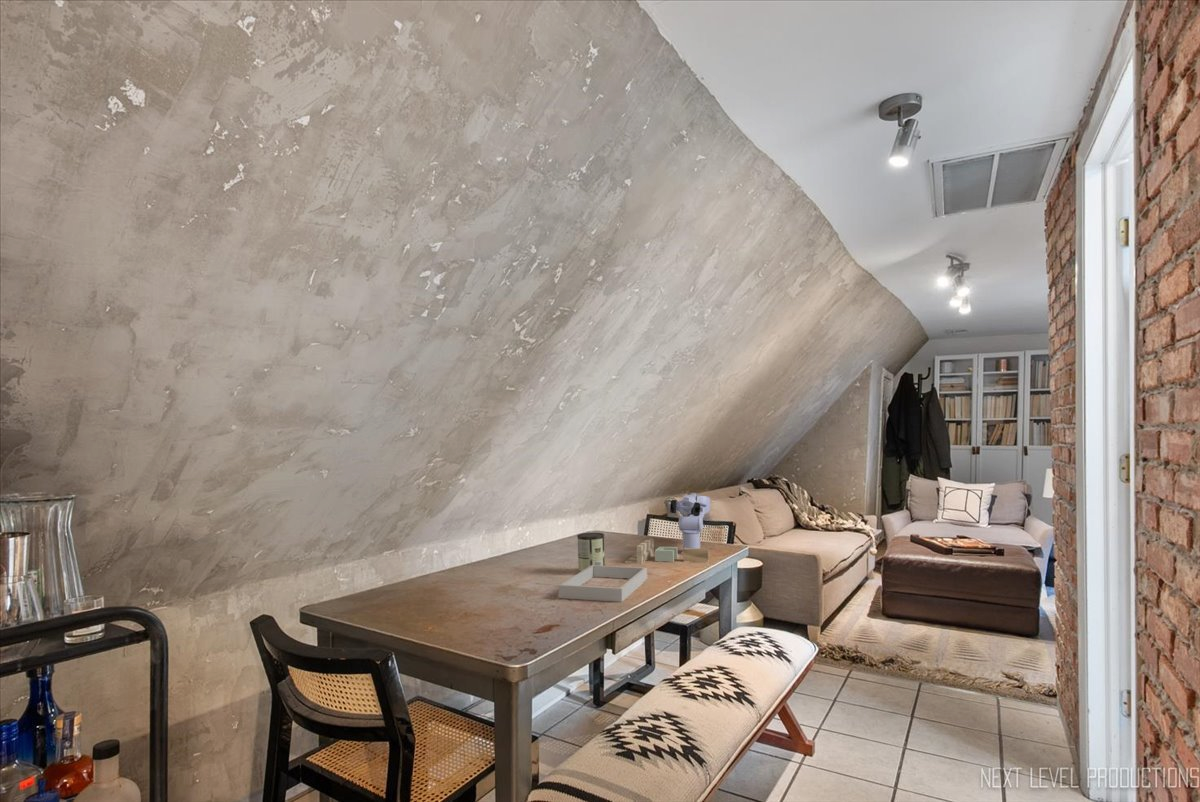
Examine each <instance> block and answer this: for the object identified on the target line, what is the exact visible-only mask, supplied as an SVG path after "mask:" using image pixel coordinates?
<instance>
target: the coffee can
mask: <svg viewBox="0 0 1200 802" xmlns="http://www.w3.org/2000/svg"><path fill="white" fill-rule="evenodd" d="M576 537H577V560H578V561H577V563H578V571H577V572H579V573H580V572H581V571H583V570H584V569H586V568H588V567H589V566H591V565H598V566H606V564H605V562H606V561H605V534H604V533H602V532H583V533H578V534H576Z"/></svg>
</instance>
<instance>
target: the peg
mask: <svg viewBox="0 0 1200 802" xmlns="http://www.w3.org/2000/svg"><path fill="white" fill-rule="evenodd" d="M682 551H683V554H682V562H683V561H690V562H689V563H706V562H708V563H709V562H710V548H701V547H700V548H684V549H683V548H682ZM691 561H692V562H691Z"/></svg>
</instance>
